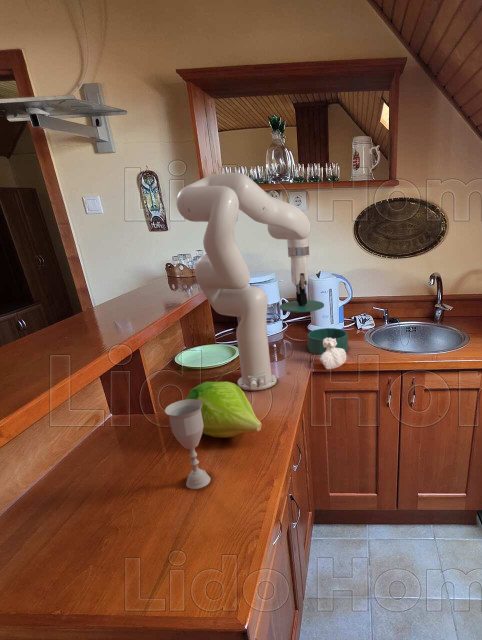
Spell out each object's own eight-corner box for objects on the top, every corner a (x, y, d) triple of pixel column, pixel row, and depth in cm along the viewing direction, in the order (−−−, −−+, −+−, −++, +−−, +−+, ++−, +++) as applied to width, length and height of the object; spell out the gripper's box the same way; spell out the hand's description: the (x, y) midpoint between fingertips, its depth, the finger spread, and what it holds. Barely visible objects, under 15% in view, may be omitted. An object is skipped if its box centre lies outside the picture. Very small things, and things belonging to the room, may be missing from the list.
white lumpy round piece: (343, 366, 155) (329, 340, 156) (355, 358, 149) (340, 330, 150) (320, 376, 147) (305, 348, 148) (332, 368, 141) (317, 339, 142)
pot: (352, 353, 161) (351, 337, 158) (311, 357, 158) (311, 341, 155) (342, 341, 175) (342, 326, 172) (305, 345, 172) (304, 330, 169)
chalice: (203, 467, 95) (190, 396, 87) (222, 479, 91) (209, 404, 83) (174, 483, 90) (157, 409, 82) (192, 496, 86) (176, 419, 78)
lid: (328, 311, 152) (327, 293, 149) (282, 315, 149) (281, 297, 146) (319, 301, 167) (318, 284, 164) (277, 305, 164) (276, 288, 161)
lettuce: (278, 435, 111) (238, 470, 101) (216, 401, 120) (174, 430, 109) (279, 392, 103) (235, 426, 92) (212, 358, 111) (165, 386, 100)
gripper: (285, 250, 156) (288, 299, 163) (291, 255, 141) (295, 309, 149) (305, 249, 157) (307, 297, 165) (313, 254, 143) (315, 307, 151)
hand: (301, 302), depth 157 cm, fingers closed on lid, 2 cm apart
